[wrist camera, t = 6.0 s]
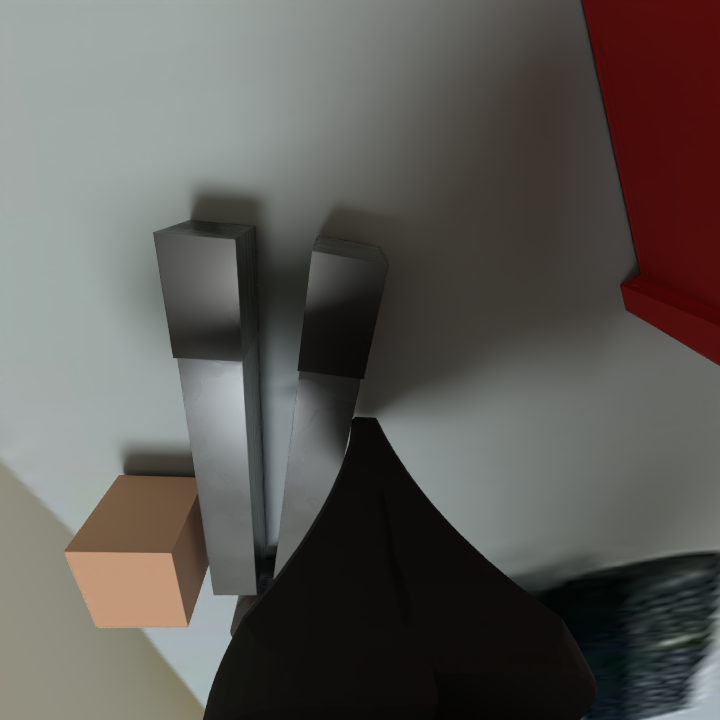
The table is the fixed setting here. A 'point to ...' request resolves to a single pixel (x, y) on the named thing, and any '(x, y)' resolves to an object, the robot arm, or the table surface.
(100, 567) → the block
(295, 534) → the tongs arm
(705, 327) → the red curved-top box
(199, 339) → the tongs handle
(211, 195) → the table surface
